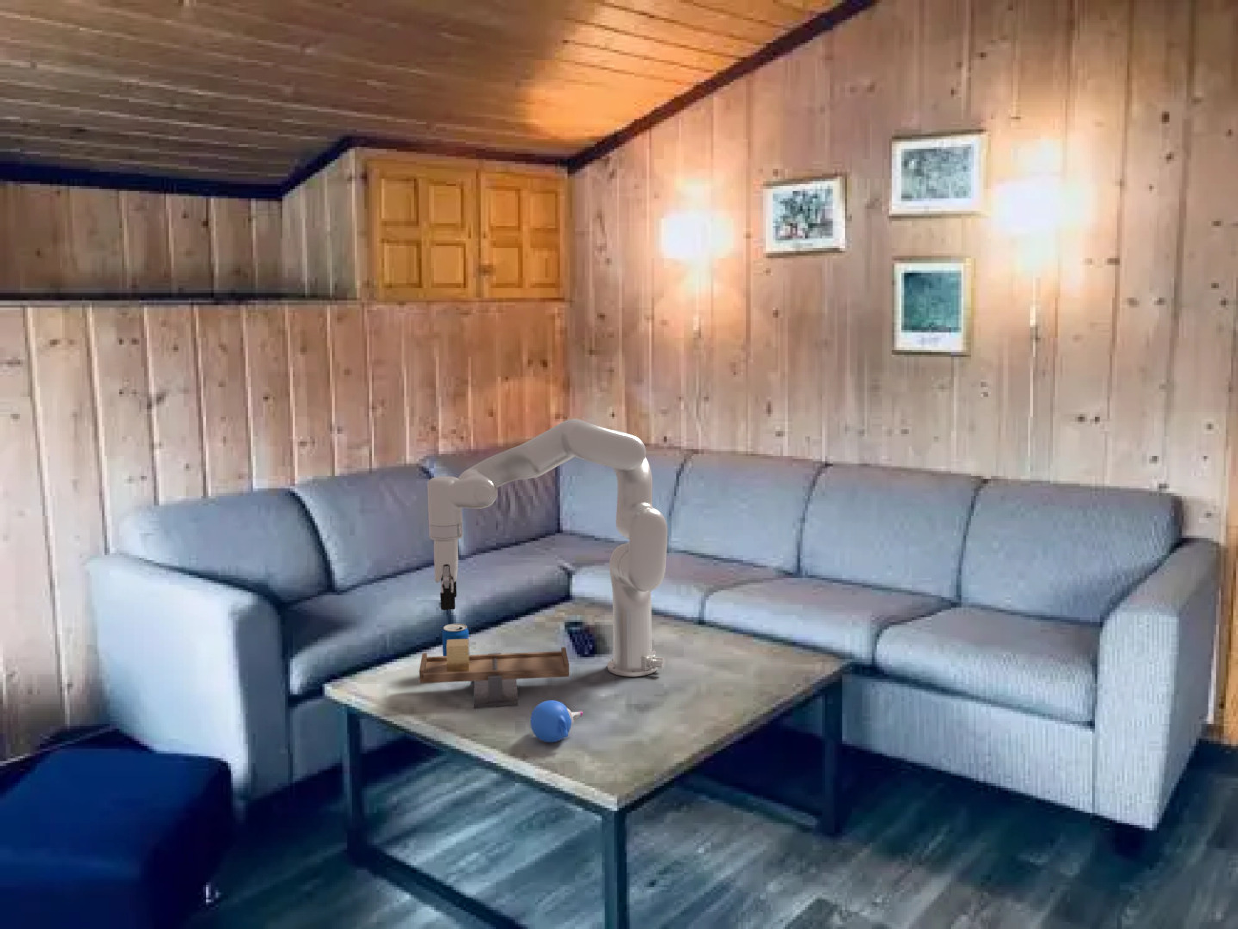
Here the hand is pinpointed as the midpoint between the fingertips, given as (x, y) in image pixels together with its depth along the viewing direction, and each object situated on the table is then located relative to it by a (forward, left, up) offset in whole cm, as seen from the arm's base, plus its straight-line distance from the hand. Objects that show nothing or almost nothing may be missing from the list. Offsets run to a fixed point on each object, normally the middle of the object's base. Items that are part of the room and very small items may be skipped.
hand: (448, 603), depth 244 cm
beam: (-8, -6, -16) cm, 19 cm away
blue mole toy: (-35, +9, -22) cm, 43 cm away
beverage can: (+8, -12, -22) cm, 27 cm away
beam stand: (-8, -6, -22) cm, 24 cm away
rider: (-1, -1, -16) cm, 16 cm away
